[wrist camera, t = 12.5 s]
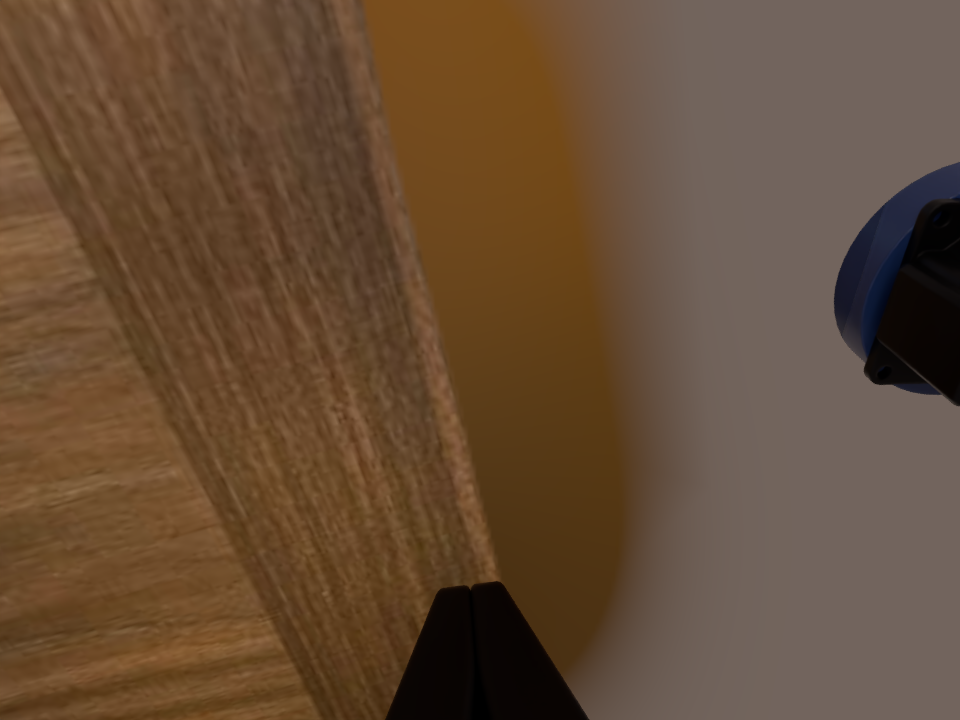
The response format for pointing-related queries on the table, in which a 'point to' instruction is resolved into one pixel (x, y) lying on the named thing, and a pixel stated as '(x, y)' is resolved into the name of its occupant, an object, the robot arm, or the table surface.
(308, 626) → the table surface
